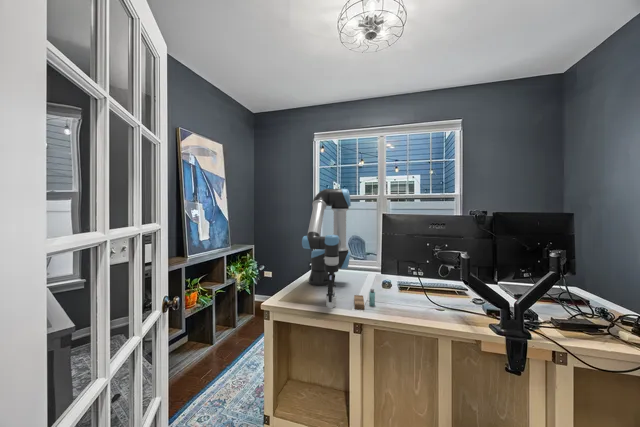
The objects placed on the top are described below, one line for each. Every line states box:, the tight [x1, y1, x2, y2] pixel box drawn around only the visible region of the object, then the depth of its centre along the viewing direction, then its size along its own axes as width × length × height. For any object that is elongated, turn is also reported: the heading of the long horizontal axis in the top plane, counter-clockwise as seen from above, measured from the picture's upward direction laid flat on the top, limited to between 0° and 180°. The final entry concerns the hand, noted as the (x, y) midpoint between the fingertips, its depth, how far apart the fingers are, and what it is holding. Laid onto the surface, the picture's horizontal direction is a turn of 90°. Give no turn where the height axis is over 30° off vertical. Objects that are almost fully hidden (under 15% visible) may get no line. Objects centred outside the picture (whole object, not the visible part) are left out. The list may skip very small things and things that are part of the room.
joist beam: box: [353, 294, 365, 310], centre depth 146 cm, size 14×5×2 cm, turn 174°
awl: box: [368, 288, 376, 307], centre depth 145 cm, size 3×3×8 cm
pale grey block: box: [325, 293, 337, 308], centre depth 145 cm, size 5×5×6 cm
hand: (331, 303), depth 145 cm, fingers open, 13 cm apart
